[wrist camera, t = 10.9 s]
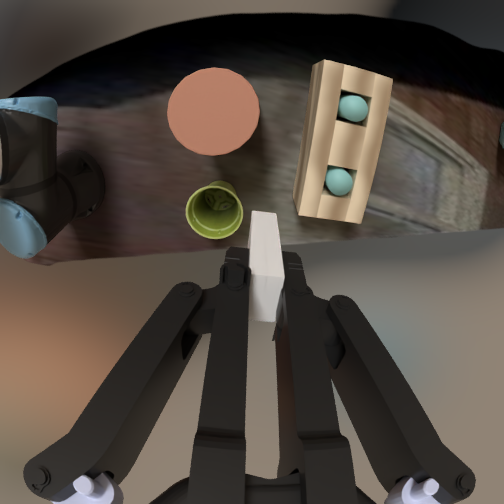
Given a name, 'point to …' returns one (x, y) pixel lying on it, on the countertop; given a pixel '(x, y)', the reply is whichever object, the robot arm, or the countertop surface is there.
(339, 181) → the peg
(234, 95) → the coffee jar
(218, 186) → the plant pot
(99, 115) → the countertop surface
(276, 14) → the countertop surface
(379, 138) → the socket block
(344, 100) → the peg
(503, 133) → the flower pot
